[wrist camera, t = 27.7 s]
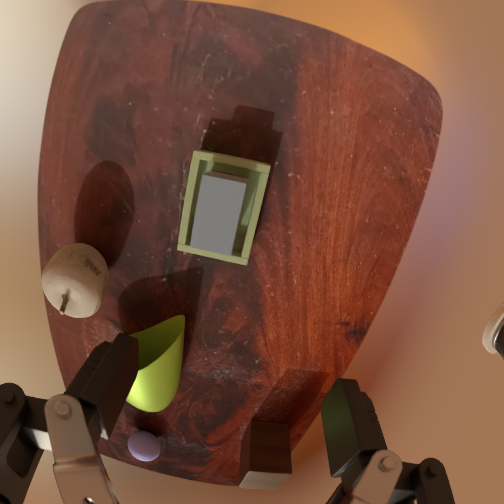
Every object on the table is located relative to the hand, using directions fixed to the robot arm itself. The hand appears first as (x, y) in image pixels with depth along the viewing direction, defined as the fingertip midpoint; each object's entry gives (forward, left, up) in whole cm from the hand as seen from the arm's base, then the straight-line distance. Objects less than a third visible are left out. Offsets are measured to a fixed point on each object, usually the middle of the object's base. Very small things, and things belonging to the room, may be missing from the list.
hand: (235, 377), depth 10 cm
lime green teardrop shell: (+21, +14, -23) cm, 34 cm away
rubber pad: (+2, -3, -20) cm, 20 cm away
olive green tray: (+2, -3, -23) cm, 23 cm away
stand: (+11, +39, -23) cm, 46 cm away
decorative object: (+22, -2, -23) cm, 31 cm away
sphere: (+36, +35, -23) cm, 55 cm away
